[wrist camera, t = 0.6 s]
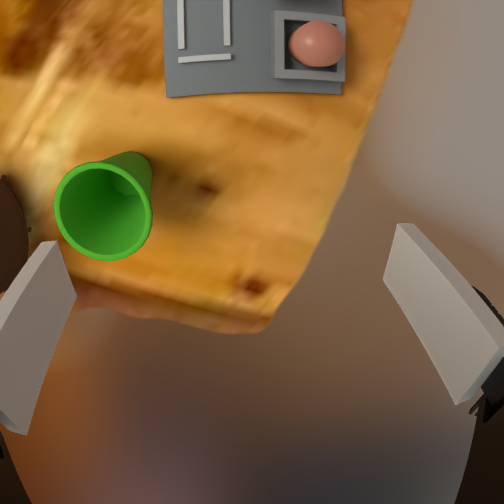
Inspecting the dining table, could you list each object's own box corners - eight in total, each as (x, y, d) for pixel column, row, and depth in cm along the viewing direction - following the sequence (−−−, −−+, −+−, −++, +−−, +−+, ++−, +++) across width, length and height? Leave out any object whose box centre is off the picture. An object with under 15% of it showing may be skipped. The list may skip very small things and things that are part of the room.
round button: (287, 23, 24) (295, 18, 21) (331, 27, 24) (344, 23, 21) (287, 65, 26) (296, 65, 23) (331, 68, 26) (344, 68, 24)
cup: (137, 117, 30) (103, 139, 21) (186, 181, 34) (174, 227, 25) (80, 166, 32) (35, 205, 22) (127, 223, 36) (100, 277, 27)
